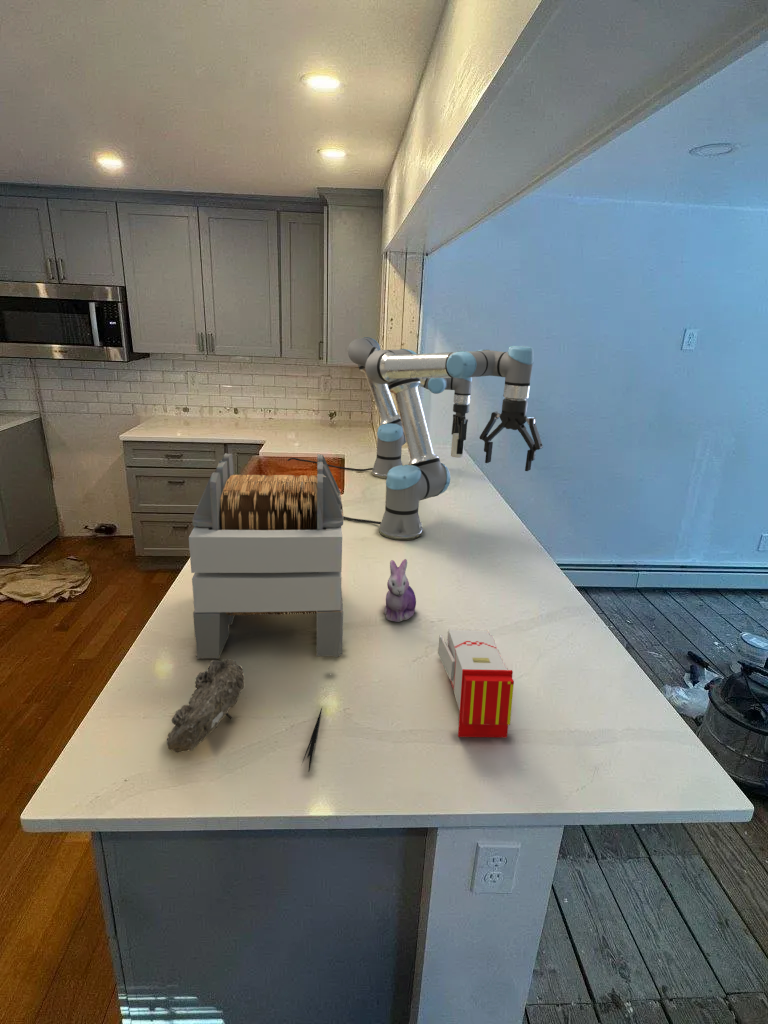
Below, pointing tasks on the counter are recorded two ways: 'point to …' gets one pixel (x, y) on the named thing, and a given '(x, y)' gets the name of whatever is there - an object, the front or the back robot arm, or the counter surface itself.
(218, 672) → the fossil
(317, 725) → the feather
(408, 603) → the figurine
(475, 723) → the toy
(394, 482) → the front robot arm
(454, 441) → the canister
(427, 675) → the counter surface
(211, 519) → the transformer
